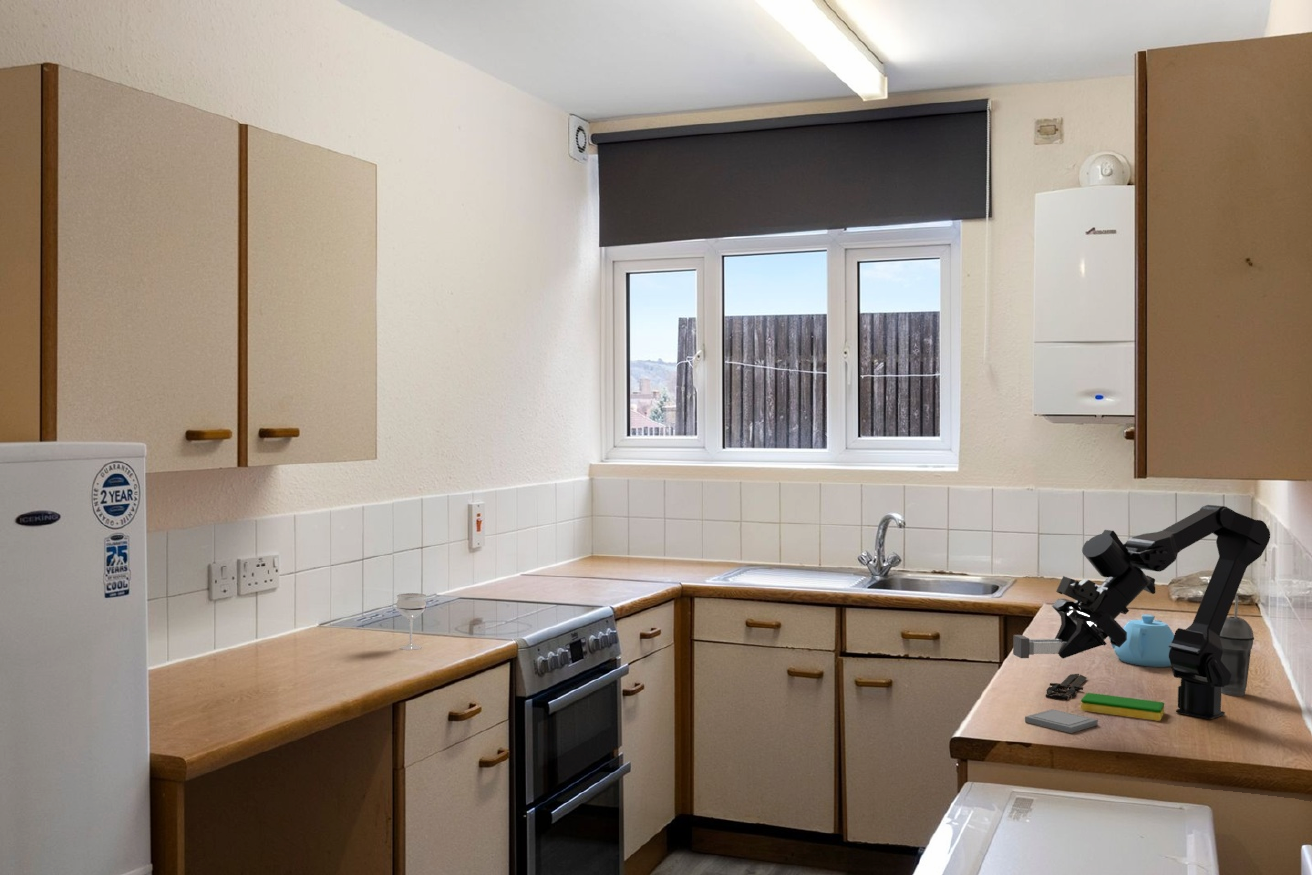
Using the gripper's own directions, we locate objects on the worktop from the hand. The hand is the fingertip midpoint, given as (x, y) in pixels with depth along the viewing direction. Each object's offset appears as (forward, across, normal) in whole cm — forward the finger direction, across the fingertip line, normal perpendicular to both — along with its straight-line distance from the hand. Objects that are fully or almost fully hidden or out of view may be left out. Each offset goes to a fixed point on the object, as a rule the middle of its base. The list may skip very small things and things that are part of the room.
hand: (1055, 654), depth 203 cm
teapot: (-23, -53, +42) cm, 71 cm away
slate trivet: (+8, 0, +10) cm, 13 cm away
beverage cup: (-24, -23, +43) cm, 54 cm away
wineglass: (+96, -66, -79) cm, 141 cm away
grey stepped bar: (+4, 0, -6) cm, 7 cm away
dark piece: (-1, -28, +20) cm, 35 cm away
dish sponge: (-3, -9, +22) cm, 23 cm away
